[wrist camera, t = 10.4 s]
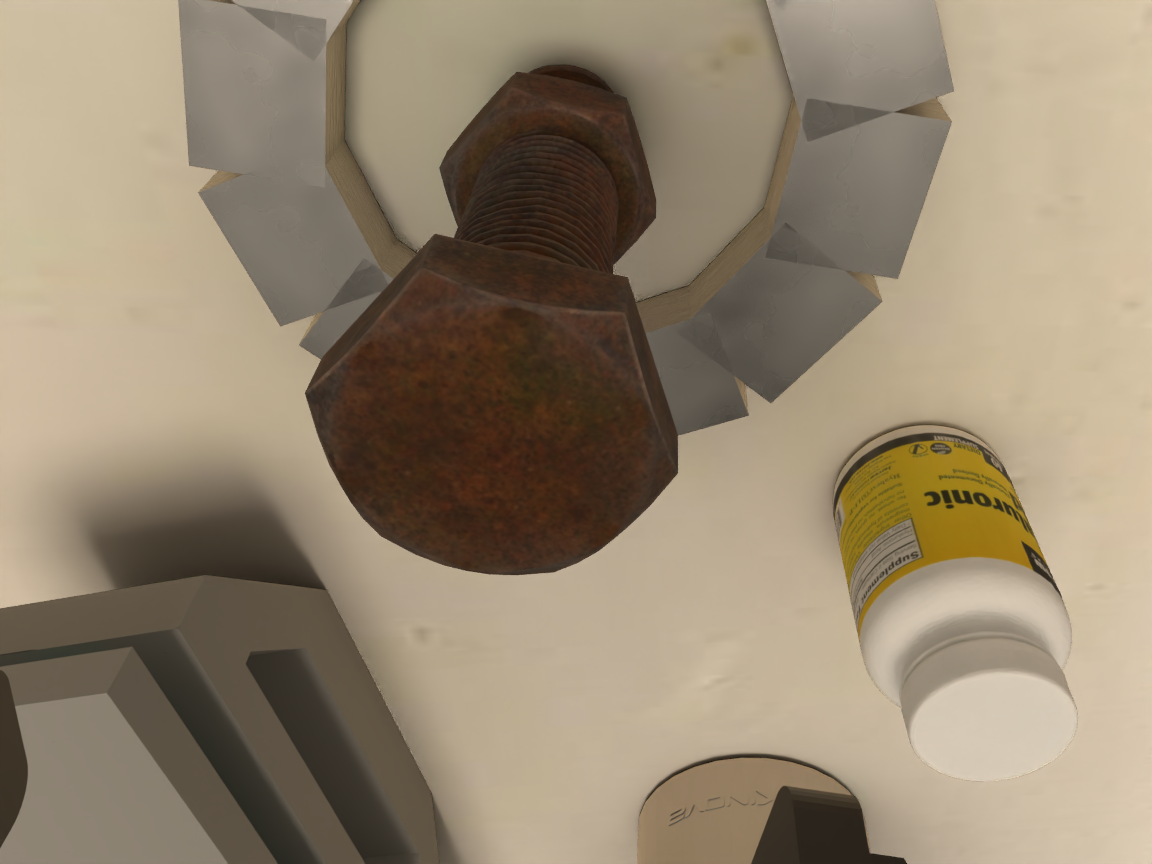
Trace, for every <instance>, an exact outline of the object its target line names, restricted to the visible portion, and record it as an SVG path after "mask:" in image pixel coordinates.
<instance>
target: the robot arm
mask: <svg viewBox="0 0 1152 864" xmlns="http://www.w3.org/2000/svg"><path fill="white" fill-rule="evenodd" d="M27 780H28V763H27V758H26V753H25V749H24V745H23V740H22V736H21V731H20V727H19V722H18V718H17V713H16V709H15V704H14V700H13V695H12V691H11V687H10V682H9V679H8V677H7V675H6V673H4V672H3V671H2V670H0V848H1V846H2V844H3V843H4V841H5V839H6V837H7V836H8V834H9V832H10V831H11V829H12V827H13V825H14V823H15V821H16V819H17V817H18V814H19V812H20V809H21V806H22V803H23V800H24V796H25V792H26V787H27ZM637 864H907V863H906V861H905V860H904V858H899V857H892V856H885V855H878V854H871V852H870V846H869V840H868V835H867V829H866V823H865V819H864V816H863V813H862V809H861V806H860V804H859V802H858V800H857V798H856V797H855V796H853V795H851V793H850V792H849V791H848V790H847V789H845V788H844V787H843V786H842V785H840V784H839V783H838V782H837V781H835V780H834V779H833V778H831V777H829V776H827V775H825V774H823V773H821V772H819V771H817V770H815V769H812V768H809V767H806V766H803V765H799V764H796V763H793V762H788V761H782V760H775V759H769V758H735V759H727V760H720V761H714V762H710V763H707V764H703V765H700V766H696V767H693V768H691V769H688V770H686V771H684V772H682V773H680V774H678V775H676V776H673V777H672V778H671V779H669V780H668V781H666V782H665V783H664V784H662V785H661V786H660V787H658V788H657V789H656V790H655V791H654V793H653V794H652V795H651V796H650V797H649V798H648V800H647V801H646V802H645V805H644V807H643V809H642V811H641V813H640V816H639V825H638V851H637Z"/></svg>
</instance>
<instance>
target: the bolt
mask: <svg viewBox="0 0 1152 864" xmlns="http://www.w3.org/2000/svg"><path fill="white" fill-rule="evenodd" d="M440 172H441V176H442V179H443V183H444V186H445V190H446V194H447V197H448V200H449V203H450V206H451V209H452V212H453V214H454V217H455V220H456V223H457V226H458V229H457V231H456V234H455V237H454V238H451V237H446V236H442V235H437V234H434V236H433V237H432V238H431V239H430V240H429V241H428V242H427V243H426V244H425V245H424V246H423V248H422V249H421V250H420V251H419V252H418V253H417V254H416V255H415V256H414V257H413V258H412V260H411V261H410V262H409V263H408V264H407V265H406V266H405V267H404V268H403V269H402V270H401V272H400V273H399V274H398V275H397V276H396V277H395V278H394V279H393V280H392V281H391V282H390V284H389V285H388V286H387V287H386V288H385V289H384V290H383V291H382V292H381V293H380V295H379V296H378V297H377V298H376V299H375V300H374V301H373V302H372V303H371V304H370V305H369V307H368V308H367V309H366V310H365V311H364V312H363V313H362V314H361V315H360V316H359V317H358V319H357V320H356V321H355V322H354V323H353V324H352V325H351V326H350V327H349V328H348V329H347V331H346V332H345V333H344V334H343V335H342V336H341V337H340V338H339V339H338V340H337V341H336V343H335V344H334V345H333V346H332V347H331V348H330V349H329V350H328V351H327V352H326V354H325V355H324V356H323V357H322V359H321V361H320V363H319V365H318V367H317V370H316V372H315V374H314V376H313V378H312V380H311V382H310V384H309V386H308V388H307V390H306V392H305V394H306V398H307V401H308V404H309V408H310V411H311V414H312V418H313V421H314V424H315V428H316V431H317V434H318V437H319V439H320V442H321V444H322V447H323V449H324V452H325V454H326V457H327V459H328V462H329V465H330V467H331V468H332V470H333V472H334V474H335V476H336V478H337V480H338V481H339V483H340V485H341V487H342V488H343V490H344V492H345V493H346V495H347V497H348V498H349V500H350V502H351V503H352V504H353V506H354V507H355V508H356V510H357V511H358V512H359V514H360V515H361V516H362V518H363V519H364V520H365V521H366V522H367V523H368V524H369V525H370V526H371V527H372V528H373V529H374V530H375V531H376V532H377V533H378V534H379V535H381V536H382V537H383V538H385V539H387V540H389V541H391V542H393V543H395V544H397V545H399V546H400V547H402V548H404V549H406V550H408V551H410V552H412V553H414V554H416V555H418V556H421V557H424V558H426V559H429V560H432V561H434V562H437V563H439V564H442V565H445V566H449V567H453V568H457V569H461V570H466V571H472V572H478V573H485V574H498V575H524V574H537V573H550V572H556V571H558V570H561V569H563V568H566V567H568V566H571V565H573V564H576V563H578V562H580V561H582V560H583V559H585V558H587V557H589V556H590V555H592V554H594V553H596V552H597V551H599V550H600V549H602V548H603V547H604V546H605V545H607V544H608V543H609V542H610V541H612V540H613V539H614V538H615V537H616V536H618V535H619V534H620V533H621V532H622V531H623V530H625V529H626V528H627V527H628V526H629V525H630V524H631V523H632V522H634V521H635V520H636V519H637V518H638V517H639V516H640V515H641V514H642V513H643V512H644V511H645V510H646V509H647V508H648V507H649V506H650V505H651V504H652V503H653V502H654V501H655V499H656V498H657V497H658V496H659V495H660V493H661V492H662V491H663V490H664V489H665V488H666V486H667V485H668V484H669V483H670V482H671V481H672V479H673V478H674V477H675V476H676V475H677V474H678V433H677V430H676V427H675V424H674V421H673V417H672V414H671V411H670V408H669V405H668V402H667V399H666V396H665V393H664V389H663V386H662V383H661V380H660V377H659V374H658V371H657V368H656V365H655V361H654V358H653V355H652V352H651V349H650V346H649V343H648V340H647V337H646V333H645V330H644V327H643V324H642V321H641V318H640V315H639V312H638V309H637V305H636V302H635V299H634V296H633V293H632V290H631V287H630V284H629V280H628V277H623V276H619V275H615V274H613V264H615V263H616V262H617V261H618V260H619V259H620V258H621V257H622V256H623V255H624V254H625V252H626V251H627V250H628V249H629V248H630V247H631V246H632V245H633V244H634V243H635V242H636V241H637V240H638V239H639V237H640V236H641V235H642V234H643V233H644V231H645V230H646V229H647V228H648V227H649V225H650V224H651V223H652V222H653V221H654V219H655V218H656V198H655V194H654V190H653V185H652V181H651V177H650V173H649V169H648V165H647V162H646V158H645V155H644V151H643V147H642V144H641V141H640V137H639V134H638V131H637V128H636V125H635V121H634V118H633V116H632V113H631V110H630V107H629V104H628V101H627V99H626V98H625V97H622V96H619V95H617V94H614V93H613V91H612V90H611V89H610V88H609V86H608V85H607V84H606V83H605V82H604V81H603V80H601V79H600V78H599V77H598V76H596V75H595V74H593V73H591V72H589V71H587V70H585V69H582V68H579V67H576V66H568V65H553V66H544V67H541V68H538V69H535V70H533V71H531V72H529V73H521V72H516V73H515V74H514V75H513V76H512V77H511V78H510V79H509V80H508V81H507V82H506V83H505V84H504V85H503V86H502V87H501V88H500V89H499V91H498V92H497V93H496V94H495V95H494V96H493V97H492V98H491V99H490V101H489V102H488V103H487V104H486V105H485V106H484V107H483V108H482V110H481V111H480V112H479V113H478V114H477V115H476V117H475V118H474V119H473V120H472V121H471V122H470V124H469V125H468V126H467V127H466V128H465V130H464V131H463V132H462V133H461V135H460V136H459V137H458V138H457V140H456V141H455V142H454V143H453V145H452V146H451V147H450V149H449V150H448V151H447V153H446V155H445V157H444V159H443V162H442V164H441V166H440Z"/></svg>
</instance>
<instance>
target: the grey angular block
mask: <svg viewBox="0 0 1152 864" xmlns="http://www.w3.org/2000/svg"><path fill="white" fill-rule="evenodd" d="M0 670H2V671H3V672H4V673H6V675H7V677H8V679H9V682H10V687H11V691H12V695H13V700H14V704H15V709H16V713H17V718H18V722H19V727H20V731H21V736H22V740H23V745H24V749H25V753H26V758H27V763H28V780H27V787H26V792H25V796H24V800H23V803H22V806H21V809H20V812H19V814H18V817H17V819H16V821H15V823H14V825H13V827H12V829H11V831H10V832H9V834H8V836H7V837H6V839H5V841H4V843H3V844H2V846H1V848H0V864H439V857H438V847H437V838H436V829H435V820H434V811H433V801H432V793H431V791H430V789H429V787H428V785H427V783H426V781H425V779H424V777H423V775H422V773H421V771H420V769H419V768H418V766H417V764H416V762H415V760H414V758H413V756H412V754H411V752H410V750H409V748H408V746H407V744H406V742H405V740H404V738H403V736H402V735H401V733H400V731H399V729H398V727H397V725H396V723H395V721H394V719H393V717H392V715H391V713H390V711H389V709H388V707H387V705H386V703H385V702H384V700H383V698H382V696H381V694H380V692H379V690H378V688H377V686H376V684H375V682H374V680H373V678H372V676H371V674H370V672H369V670H368V669H367V667H366V665H365V663H364V661H363V659H362V657H361V655H360V653H359V651H358V649H357V647H356V645H355V643H354V641H353V639H352V637H351V635H350V634H349V632H348V630H347V628H346V626H345V624H344V622H343V620H342V618H341V616H340V614H339V612H338V610H337V608H336V606H335V604H334V602H333V601H332V599H331V597H330V595H329V593H328V591H327V590H323V589H315V588H307V587H299V586H291V585H283V584H275V583H267V582H259V581H250V580H242V579H234V578H226V577H218V576H210V575H202V576H196V577H190V578H184V579H178V580H172V581H166V582H160V583H153V584H147V585H141V586H135V587H129V588H123V589H117V590H111V591H105V592H99V593H92V594H86V595H80V596H74V597H68V598H62V599H56V600H50V601H44V602H38V603H31V604H25V605H19V606H13V607H7V608H1V609H0Z"/></svg>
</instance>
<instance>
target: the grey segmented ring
mask: <svg viewBox="0 0 1152 864" xmlns="http://www.w3.org/2000/svg"><path fill="white" fill-rule="evenodd" d="M178 2H179V17H180V32H181V48H182V63H183V78H184V94H185V109H186V124H187V140H188V155H189V166H195V167H201V168H207V169H214V170H218V172H217V173H216V174H215V175H214V176H213V177H212V178H211V179H210V180H209V181H208V182H207V183H206V185H205V186H204V187H203V188H202V189H201V190H200V191H199V192H198V193H199V195H200V196H201V198H202V200H203V201H204V203H205V205H206V206H207V208H208V209H209V211H210V213H211V214H212V216H213V218H214V219H215V221H216V222H217V224H218V226H219V227H220V229H221V231H222V232H223V234H224V235H225V237H226V239H227V240H228V242H229V244H230V245H231V247H232V248H233V250H234V252H235V253H236V255H237V257H238V258H239V260H240V261H241V263H242V265H243V266H244V268H245V270H246V271H247V273H248V274H249V276H250V278H251V279H252V281H253V283H254V284H255V286H256V287H257V289H258V291H259V292H260V294H261V296H262V297H263V299H264V300H265V302H266V304H267V305H268V307H269V309H270V310H271V312H272V313H273V315H274V317H275V318H276V320H277V322H278V323H279V325H280V326H283V325H286V324H289V323H292V322H294V321H297V320H300V319H303V318H306V317H309V316H312V315H315V314H316V315H315V317H314V319H313V321H312V323H311V324H310V326H309V328H308V330H307V332H306V333H305V335H304V337H303V339H302V341H301V342H300V344H299V345H300V346H301V347H303V348H304V349H306V350H307V351H309V352H310V353H312V354H313V355H315V356H316V357H318V358H320V359H322V357H323V356H324V355H325V354H326V352H327V351H328V350H329V349H330V348H331V347H332V346H333V345H334V344H335V343H336V341H337V340H338V339H339V338H340V337H341V336H342V335H343V334H344V333H345V332H346V331H347V329H348V328H349V327H350V326H351V325H352V324H353V323H354V322H355V321H356V320H357V319H358V317H359V316H360V315H361V314H362V313H363V312H364V311H365V310H366V309H367V308H368V307H369V305H370V304H371V303H372V302H373V301H374V300H375V299H376V298H377V297H378V296H379V295H380V293H381V292H382V291H383V290H384V289H385V288H386V287H387V286H388V285H389V284H390V282H391V281H392V280H393V279H394V278H395V277H396V276H397V275H398V274H399V273H400V272H401V270H402V269H403V268H404V267H405V266H406V265H407V264H408V263H409V262H410V261H411V260H412V258H413V257H414V256H415V255H416V254H417V253H416V252H414V251H413V250H411V249H410V248H408V247H407V246H406V245H404V244H403V243H401V242H400V241H399V240H397V239H396V237H395V235H394V233H393V231H392V230H391V228H390V226H389V224H388V222H387V220H386V218H385V216H384V214H383V212H382V210H381V209H380V207H379V205H378V203H377V201H376V199H375V197H374V195H373V193H372V191H371V190H370V188H369V186H368V184H367V182H366V180H365V178H364V176H363V174H362V172H361V171H360V169H359V167H358V165H357V163H356V161H355V159H354V157H353V155H352V153H351V151H350V150H349V148H348V146H347V144H346V142H345V140H344V126H345V75H346V23H347V21H348V19H349V18H350V16H351V14H352V13H353V11H354V10H355V8H356V7H357V5H358V3H359V2H360V0H178ZM766 3H767V7H768V10H769V13H770V17H771V20H772V24H773V27H774V31H775V34H776V37H777V41H778V44H779V48H780V51H781V55H782V58H783V61H784V65H785V68H786V72H787V75H788V79H789V82H790V85H791V89H792V92H793V99H792V103H791V106H790V110H789V114H788V118H787V122H786V126H785V130H784V134H783V138H782V142H781V145H780V149H779V153H778V157H777V161H776V165H775V169H774V173H773V177H772V181H771V185H770V188H769V192H768V196H767V200H766V204H765V207H764V208H763V209H762V210H761V212H760V213H759V214H758V215H757V216H756V217H755V218H754V219H753V220H752V221H751V222H750V223H749V224H748V225H747V226H746V227H745V228H744V229H743V230H742V231H741V232H740V233H739V234H738V235H737V236H736V237H735V239H734V240H733V241H732V242H731V243H730V244H729V245H728V246H727V247H726V248H725V249H724V250H723V251H722V252H721V253H720V254H719V255H718V256H717V257H716V258H715V259H714V260H713V261H712V262H711V263H710V264H709V266H708V267H707V268H706V269H705V270H704V271H703V272H702V273H701V274H700V275H699V276H698V277H697V278H696V279H695V280H694V281H693V282H692V283H691V284H690V285H689V286H686V287H683V288H680V289H677V290H674V291H671V292H668V293H665V294H661V295H658V296H655V297H652V298H649V299H646V300H643V301H640V302H637V303H636V305H637V309H638V312H639V315H640V318H641V321H642V324H643V327H644V330H645V333H646V337H647V340H648V343H649V346H650V349H651V352H652V355H653V358H654V361H655V365H656V368H657V371H658V374H659V377H660V380H661V383H662V386H663V389H664V393H665V396H666V399H667V402H668V405H669V408H670V411H671V414H672V417H673V421H674V424H675V427H676V430H677V433H678V435H682V434H685V433H689V432H692V431H696V430H699V429H703V428H706V427H710V426H713V425H717V424H720V423H724V422H727V421H731V420H734V419H738V418H741V417H745V416H748V415H749V414H748V405H747V396H746V388H745V384H746V385H747V386H749V387H750V388H751V389H753V390H754V391H755V392H757V393H758V394H759V395H761V396H762V397H763V398H765V399H766V400H767V401H769V402H770V403H772V402H773V401H774V400H775V399H776V398H777V397H778V396H779V395H780V394H781V393H783V392H784V391H785V390H786V389H787V388H788V387H789V386H790V385H791V384H792V383H794V382H795V381H796V380H797V379H798V378H799V377H800V376H801V375H802V374H803V373H805V372H806V371H807V370H808V369H809V368H810V367H811V366H812V365H813V364H814V363H815V362H817V361H818V360H819V359H820V358H821V357H822V356H823V355H824V354H825V353H826V352H828V351H829V350H830V349H831V348H832V347H833V346H834V345H835V344H836V343H837V342H839V341H840V340H841V339H842V338H843V337H844V336H845V335H846V334H847V333H848V332H849V331H851V330H852V329H853V328H854V327H855V326H856V325H857V324H858V323H859V322H860V321H862V320H863V319H864V318H865V317H866V316H867V315H868V314H869V313H870V312H871V311H873V310H874V309H875V308H876V307H877V306H878V305H879V304H880V303H881V302H882V299H881V296H880V293H879V290H878V287H877V285H876V282H875V279H874V276H873V275H877V276H883V277H890V278H896V279H898V276H899V273H900V271H901V268H902V265H903V262H904V259H905V256H906V253H907V250H908V247H909V244H910V242H911V239H912V236H913V233H914V230H915V227H916V224H917V221H918V218H919V215H920V213H921V210H922V207H923V204H924V201H925V198H926V195H927V192H928V189H929V186H930V183H931V181H932V178H933V175H934V172H935V169H936V166H937V163H938V160H939V157H940V154H941V152H942V149H943V146H944V143H945V140H946V137H947V134H948V131H949V128H950V125H951V123H952V121H951V120H950V118H949V117H948V115H947V114H946V112H945V111H944V109H943V107H942V106H941V104H940V103H939V101H938V100H937V98H936V97H939V96H941V95H944V94H947V93H950V92H953V91H954V89H953V84H952V79H951V75H950V70H949V65H948V61H947V56H946V51H945V46H944V42H943V37H942V32H941V28H940V23H939V18H938V13H937V9H936V4H935V0H766Z"/></svg>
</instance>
